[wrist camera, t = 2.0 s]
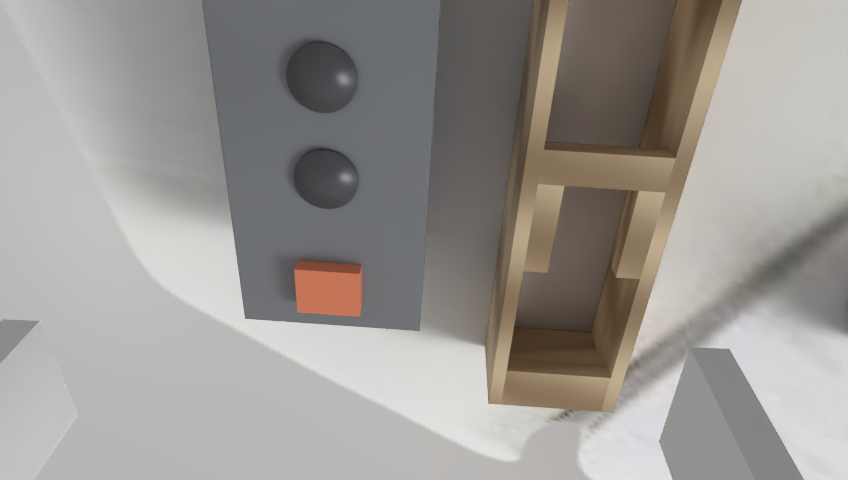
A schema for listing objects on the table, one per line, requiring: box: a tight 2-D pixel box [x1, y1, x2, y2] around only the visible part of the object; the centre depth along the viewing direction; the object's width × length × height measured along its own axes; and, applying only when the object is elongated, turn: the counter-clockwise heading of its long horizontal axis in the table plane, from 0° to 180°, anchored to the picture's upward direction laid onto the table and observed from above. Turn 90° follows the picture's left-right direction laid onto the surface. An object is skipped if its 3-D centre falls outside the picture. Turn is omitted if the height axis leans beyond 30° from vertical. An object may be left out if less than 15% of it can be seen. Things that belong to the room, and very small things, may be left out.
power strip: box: [202, 0, 441, 331], centre depth 22 cm, size 17×7×7 cm, turn 177°
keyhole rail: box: [485, 0, 742, 412], centre depth 24 cm, size 25×6×4 cm, turn 177°
